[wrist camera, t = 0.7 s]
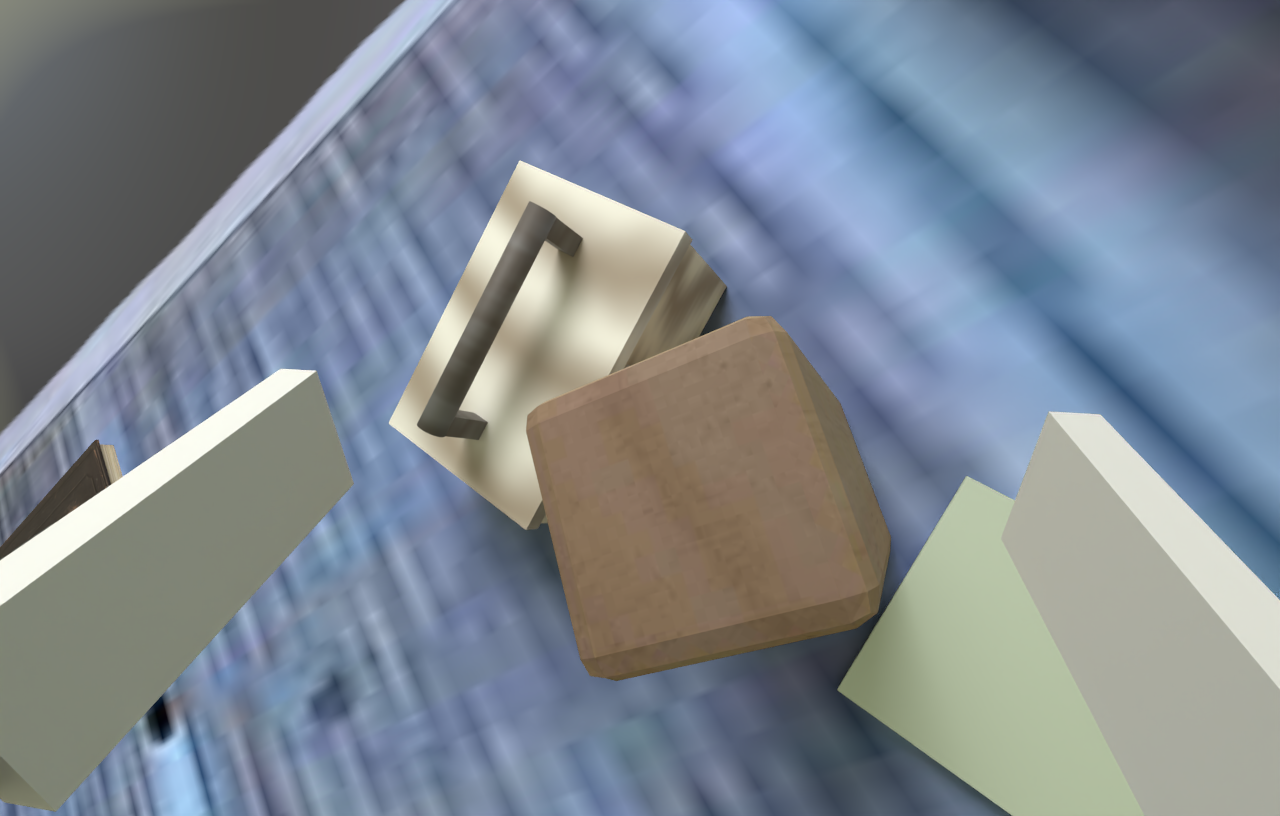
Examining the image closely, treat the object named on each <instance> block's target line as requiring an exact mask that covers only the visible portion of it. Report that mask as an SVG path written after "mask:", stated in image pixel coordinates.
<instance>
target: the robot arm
mask: <svg viewBox="0 0 1280 816" xmlns="http://www.w3.org/2000/svg"><path fill="white" fill-rule="evenodd" d="M353 484H354V483H353V480H352V477H351V474H350V471H349V468H348V465H347V462H346V459H345V456H344V453H343V449H342V446H341V443H340V440H339V437H338V434H337V431H336V428H335V425H334V422H333V419H332V416H331V413H330V410H329V407H328V404H327V401H326V398H325V395H324V392H323V389H322V386H321V383H320V380H319V377H318V374H317V371H309V370H291V369H280V370H279V371H277V372H276V373H274V374H273V375H271V376H270V377H268V378H267V379H265V380H264V381H263V382H261V383H260V384H258V385H257V386H255V387H254V388H252V389H251V390H249V391H248V392H246V393H245V394H243V395H242V396H241V397H239V398H238V399H236V400H235V401H233V402H232V403H230V404H229V405H227V406H226V407H224V408H223V409H221V410H220V411H219V412H217V413H216V414H214V415H213V416H211V417H210V418H208V419H207V420H205V421H204V422H202V423H201V424H199V425H198V426H197V427H195V428H194V429H192V430H191V431H189V432H188V433H186V434H185V435H183V436H182V437H180V438H179V439H177V440H176V441H175V442H173V443H172V444H170V445H169V446H167V447H166V448H164V449H163V450H161V451H160V452H158V453H157V454H155V455H154V456H153V457H151V458H150V459H148V460H147V461H145V462H144V463H142V464H141V465H139V466H138V467H136V468H135V469H133V470H132V471H131V472H129V473H128V474H126V475H125V476H123V477H122V478H120V479H119V480H117V481H116V482H114V483H113V484H111V485H110V486H109V487H107V488H106V489H104V490H103V491H101V492H100V493H98V494H97V495H95V496H94V497H92V498H91V499H89V500H88V501H87V502H85V503H84V504H82V505H81V506H79V507H78V508H76V509H75V510H73V511H72V512H70V513H69V514H68V515H66V516H65V517H63V518H62V519H60V520H59V521H57V522H55V523H53V524H51V525H49V526H48V527H46V528H45V529H43V530H42V531H40V532H39V533H37V534H36V535H34V536H33V537H31V538H30V539H28V540H27V541H25V542H24V543H23V544H21V545H20V546H18V547H17V548H15V549H14V550H12V551H11V553H10V554H9V555H7V556H6V557H4V556H3V557H2V558H0V799H1V800H2V801H3V802H6V803H11V804H17V805H22V806H28V807H33V808H39V809H44V810H50V811H55V812H56V811H57V810H58V809H59V808H60V806H61V805H62V804H63V803H64V802H65V801H66V800H67V799H68V798H69V797H70V795H71V794H72V793H73V792H74V791H75V790H76V789H77V788H78V787H79V786H80V784H81V783H82V782H83V781H84V780H85V779H86V778H87V777H88V776H89V775H90V773H91V772H92V771H93V770H94V769H95V768H96V767H97V766H98V765H99V764H100V762H101V761H102V760H103V759H104V758H105V757H106V756H107V755H108V754H109V753H110V751H111V750H112V749H113V748H114V747H115V746H116V745H117V744H118V743H119V742H120V740H121V739H122V738H123V737H124V736H125V735H126V734H127V733H128V732H129V731H130V729H131V728H132V727H133V726H134V725H135V724H136V723H137V722H138V721H139V720H140V719H141V717H142V716H143V715H144V714H145V713H146V712H147V711H148V710H149V709H150V708H151V706H152V705H153V704H154V703H155V702H156V701H157V700H158V699H159V698H160V697H161V695H162V694H163V693H164V692H165V691H166V690H167V689H168V688H169V687H170V686H171V684H172V683H173V682H174V681H175V680H176V679H177V678H178V677H179V676H180V675H181V673H182V672H183V671H184V670H185V669H186V668H187V667H188V666H189V665H190V664H191V662H192V661H193V660H194V659H195V658H196V657H197V656H198V655H199V654H200V653H201V651H202V650H203V649H204V648H205V647H206V646H207V645H208V644H209V643H210V642H211V640H212V639H213V638H214V637H215V636H216V635H217V634H218V633H219V632H220V631H221V629H222V628H223V627H224V626H225V625H226V624H227V623H228V622H229V621H230V620H231V618H232V617H233V616H234V615H235V614H236V613H237V612H238V611H239V610H240V609H241V607H242V606H243V605H244V604H245V603H246V602H247V601H248V600H249V599H250V598H251V596H252V595H253V594H254V593H255V592H256V591H257V590H258V589H259V588H260V587H261V585H262V584H263V583H264V582H265V581H266V580H267V579H268V578H269V577H270V576H271V574H272V573H273V572H274V571H275V570H276V569H277V568H278V567H279V566H280V565H281V563H282V562H283V561H284V560H285V559H286V558H287V557H288V556H289V555H290V554H291V552H292V551H293V550H294V549H295V548H296V547H297V546H298V545H299V544H300V543H301V541H302V540H303V539H304V538H305V537H306V536H307V535H308V534H309V533H310V532H311V530H312V529H313V528H314V527H315V526H316V525H317V524H318V523H319V522H320V521H321V519H322V518H323V517H324V516H325V515H326V514H327V513H328V512H329V511H330V510H331V508H332V507H333V506H334V505H335V504H336V503H337V502H338V501H339V500H340V499H341V497H342V496H343V495H344V494H345V493H346V492H347V491H348V490H349V489H350V488H351V486H352V485H353ZM1001 539H1002V541H1003V543H1004V545H1005V547H1006V549H1007V551H1008V553H1009V555H1010V557H1011V559H1012V561H1013V563H1014V565H1015V567H1016V568H1017V570H1018V572H1019V574H1020V576H1021V578H1022V580H1023V582H1024V584H1025V586H1026V588H1027V590H1028V592H1029V594H1030V595H1031V597H1032V599H1033V601H1034V603H1035V605H1036V607H1037V609H1038V611H1039V613H1040V615H1041V617H1042V619H1043V621H1044V622H1045V624H1046V626H1047V628H1048V630H1049V632H1050V634H1051V636H1052V638H1053V640H1054V642H1055V644H1056V646H1057V648H1058V650H1059V651H1060V653H1061V655H1062V657H1063V659H1064V661H1065V663H1066V665H1067V667H1068V669H1069V671H1070V673H1071V675H1072V677H1073V678H1074V680H1075V682H1076V684H1077V686H1078V688H1079V690H1080V692H1081V694H1082V696H1083V698H1084V700H1085V702H1086V704H1087V706H1088V707H1089V709H1090V711H1091V713H1092V715H1093V717H1094V719H1095V721H1096V723H1097V725H1098V727H1099V729H1100V731H1101V733H1102V734H1103V736H1104V738H1105V740H1106V742H1107V744H1108V746H1109V748H1110V750H1111V752H1112V754H1113V756H1114V758H1115V760H1116V761H1117V763H1118V765H1119V767H1120V769H1121V771H1122V773H1123V775H1124V777H1125V779H1126V781H1127V783H1128V785H1129V787H1130V789H1131V790H1132V792H1133V794H1134V796H1135V798H1136V800H1137V802H1138V804H1139V806H1140V808H1141V810H1142V812H1143V814H1144V816H1280V600H1279V599H1278V598H1277V597H1276V596H1275V595H1274V594H1273V593H1272V592H1271V591H1270V590H1269V589H1268V588H1267V587H1266V586H1265V584H1264V583H1263V582H1262V581H1261V580H1260V579H1259V578H1258V577H1257V576H1256V575H1255V574H1254V573H1253V572H1252V571H1251V570H1250V569H1249V568H1248V567H1247V566H1246V565H1245V564H1244V563H1243V562H1242V561H1241V560H1240V559H1239V558H1238V557H1237V556H1236V554H1235V553H1234V552H1233V551H1232V550H1231V549H1230V548H1229V547H1228V546H1227V545H1226V544H1225V543H1224V542H1223V541H1222V540H1221V539H1220V538H1219V537H1218V536H1217V535H1216V534H1215V533H1214V532H1213V531H1212V530H1211V529H1210V528H1209V527H1208V526H1207V524H1206V523H1205V522H1204V521H1203V520H1202V519H1201V518H1200V517H1199V516H1198V515H1197V514H1196V513H1195V512H1194V511H1193V510H1192V509H1191V508H1190V507H1189V506H1188V505H1187V504H1186V503H1185V502H1184V501H1183V500H1182V499H1181V498H1180V497H1179V496H1178V494H1177V493H1176V492H1175V491H1174V490H1173V489H1172V488H1171V487H1170V486H1169V485H1168V484H1167V483H1166V482H1165V481H1164V480H1163V479H1162V478H1161V477H1160V476H1159V475H1158V474H1157V473H1156V472H1155V471H1154V470H1153V469H1152V468H1151V467H1150V466H1149V464H1148V463H1147V462H1146V461H1145V460H1144V459H1143V458H1142V457H1141V456H1140V455H1139V454H1138V453H1137V452H1136V451H1135V450H1134V449H1133V448H1132V447H1131V446H1130V445H1129V444H1128V443H1127V442H1126V441H1125V440H1124V439H1123V438H1122V437H1121V436H1120V434H1119V433H1118V432H1117V431H1116V430H1115V429H1114V428H1113V427H1112V426H1111V425H1110V424H1109V423H1108V422H1107V421H1106V420H1105V419H1104V418H1103V417H1102V416H1101V415H1100V414H1083V413H1065V412H1048V415H1047V417H1046V420H1045V423H1044V425H1043V428H1042V431H1041V433H1040V436H1039V439H1038V441H1037V444H1036V447H1035V449H1034V452H1033V455H1032V457H1031V460H1030V462H1029V465H1028V468H1027V470H1026V473H1025V476H1024V478H1023V481H1022V484H1021V486H1020V489H1019V492H1018V494H1017V497H1016V500H1015V502H1014V505H1013V508H1012V510H1011V513H1010V515H1009V518H1008V521H1007V523H1006V526H1005V529H1004V531H1003V534H1002V537H1001Z"/></svg>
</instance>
